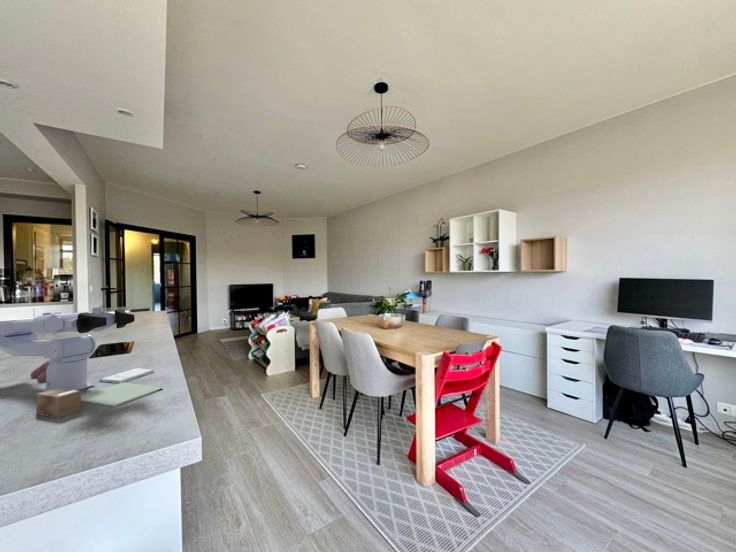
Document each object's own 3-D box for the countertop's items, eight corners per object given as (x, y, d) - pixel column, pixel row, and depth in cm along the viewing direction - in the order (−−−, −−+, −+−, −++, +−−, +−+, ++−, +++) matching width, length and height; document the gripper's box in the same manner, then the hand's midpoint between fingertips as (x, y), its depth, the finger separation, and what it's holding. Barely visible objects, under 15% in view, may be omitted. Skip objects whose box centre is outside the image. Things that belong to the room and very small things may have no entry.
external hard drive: (153, 374, 111) (119, 385, 99) (134, 372, 112) (98, 383, 100) (153, 369, 111) (119, 380, 99) (134, 368, 112) (99, 378, 100)
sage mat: (70, 400, 85) (70, 398, 85) (122, 383, 98) (122, 382, 98) (113, 407, 80) (113, 405, 80) (162, 389, 94) (162, 387, 94)
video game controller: (53, 384, 101) (67, 363, 104) (35, 382, 98) (50, 360, 100) (45, 379, 106) (58, 359, 109) (28, 376, 103) (42, 355, 106)
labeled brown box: (36, 414, 76) (36, 392, 76) (58, 407, 80) (59, 387, 81) (58, 418, 74) (59, 396, 74) (80, 410, 78) (81, 390, 78)
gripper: (54, 310, 85) (90, 307, 82) (111, 306, 99) (143, 304, 96) (55, 336, 85) (91, 334, 81) (111, 328, 99) (144, 326, 95)
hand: (119, 319), depth 88 cm, fingers open, 7 cm apart
